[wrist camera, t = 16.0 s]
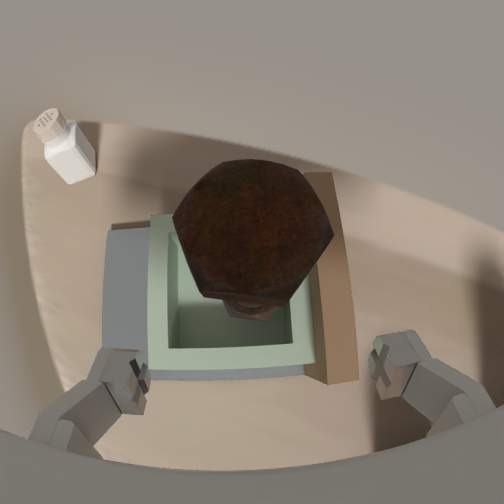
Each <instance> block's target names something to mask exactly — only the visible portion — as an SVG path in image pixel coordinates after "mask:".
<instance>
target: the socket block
mask: <svg viewBox="0 0 504 504" xmlns="http://www.w3.org/2000/svg"><path fill="white" fill-rule="evenodd" d="M173 215H174V214H162V215H151V221H150V236H149V256H148V289H147V332H148V364H149V369H154V370H222V369H247V368H263V367H277V366H289V365H300V364H309V363H316V352H315V338H314V326H313V314H312V303H311V293H310V283H309V274H308V275H307V277H306V278H305V279H304V281H303V282H302V284H301V285H300V287H299V288H298V289H297V291H296V292H295V293H294V295H293V296H292V298H291V299H290V300H289V302H288V303H287V304H286V306H285V307H277V309H276V310H275V311H274V313H273V314H272V315H271V317H270V318H269V319H268V321H257V320H248V319H240V318H234V317H230V316H229V315H228V313H227V310H226V308H225V306H224V303H223V301H222V300H219V299H212V298H204V297H203V296H202V295H201V293H200V292H199V290H198V288H197V286H196V283H195V281H194V279H193V277H192V274H191V272H190V269H189V267H188V264H187V262H186V259H185V256H184V253H183V251H182V248H181V245H180V242H179V239H178V236H177V233H176V230H175V227H174V223H173V219H172V217H173Z"/></svg>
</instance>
